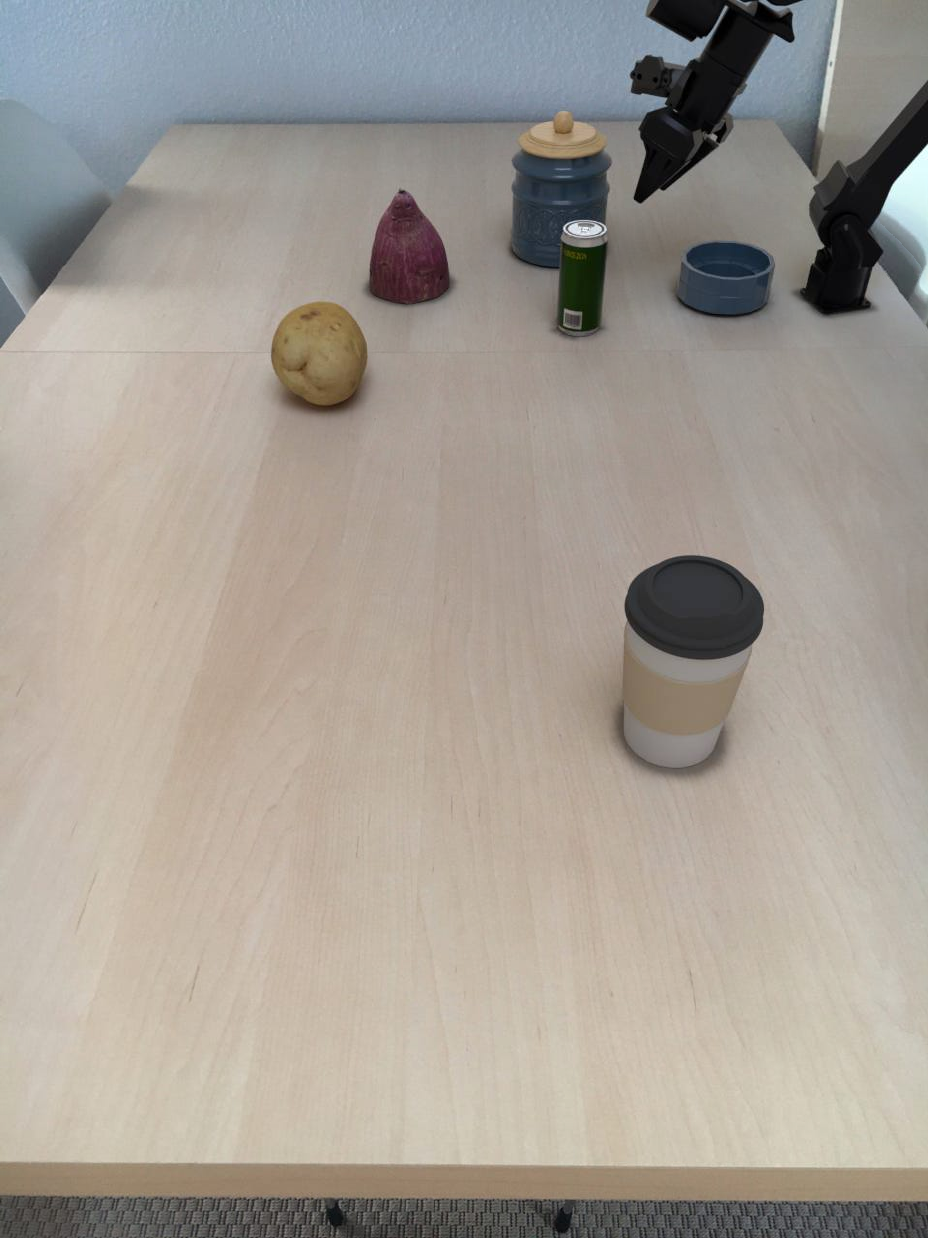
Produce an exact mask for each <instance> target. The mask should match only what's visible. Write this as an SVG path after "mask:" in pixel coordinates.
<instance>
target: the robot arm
mask: <svg viewBox="0 0 928 1238" xmlns="http://www.w3.org/2000/svg"><path fill="white" fill-rule="evenodd" d="M803 1H804V0H766V2H767V3H769V4H770V5H771V6H775V7H786V8H784V9H781V10H778V11H777V10H775V9H773V8H772V7H770V6H768V5H766V4H765V3H763V2H761V0H649V1H648V5H647V7H646V10H645V18H648V19H649V20H651V21H652V22H655V23H656V24H658V25H660V26H662V27H663V28H665V29H667V30H669V31H670V32H672V33H674V34H676V35H677V36H679V37H681V38H682V39H685V40H686V41H688V42H690V43H693V42H694V41H696V39H697V38H699V39H701V40H702V39H703V38H707V37H708V36H709V34H711V32H712V31H713V32H712V34H711V35H710V37H709V39H708V41H707V42H706V44H705V46H704V48H703V50H702V52H701V53H700V55H699V57H694V58H693V59H690V60H689V61H688V63H687V65H682V64H678V63H673V62H666V61H665V60H664V57H663V56H660V55H659V56H656V55H653V54H645V55H644V57H643V58H642V59H639V60H636V61H635V64H634V68H633V69H632V70H631V71H630V73H629V77H630V79H631V80H632V82H631V86H630V93H631V94H634V95H638V96H641V95H648V96H653V97H658V98H663V99H666V100H665V101H664V105H665V106H663V107H660V108H657V109H653V110H651V111H648V112H646V114H645V115H644V118H643V119H642V121H641V123H640V125H639V126H638V128H637V130H638V131H639V137H640V140H641V141H642V143H643V147H644V150H645V156H644V160H643V164H642V167H641V171H640V174H639V178H638V180H637V184H636V187H635V191H634V194H633V197H632V198H633V200H634V201H635V202H636V203H637V204H643V203H644V202H645V201H647V200H648V199H649V198H651V196H652V195H653V194H654V193H656V192H657V191H658V190H661V191H662V192H664V191H667V189H669V188H670V187H671V186H672V185H674V184H675V183H676V182H677V181H679V179H681V178H682V177H683V176H685V174H687V173H688V172H689V171H691V170H692V169H693V168H694V167H696V166H697V165H698V164H699V163H700V162H702V161H703V160H704V159H705V158H707V157H708V156H709V155H710V154H712V153H713V152H715V150H717V149H718V148H719V147H720V145H721V144H723V143H724V142H726V140H727V138H728V137H729V135H730V134H731V132H732V130H733V129H734V127H735V126H734V120H733V115H732V114H731V113H729V110H730V109H731V107H732V106H733V104H734V103H735V100H736V99H737V97H738V96H740V95H743V93H744V92H745V90H746V89H747V86H748V84H747V83H746V82H747V81H748V79H749V77H750V76H751V74H752V72H753V71H754V69H755V68H756V66H757V65H758V63H759V62H760V59H761V57H762V56H763V54H764V53H765V51H766V50H767V48H768V46H769V44H770V43H771V41H772V39H773V38H774V36H777V37H778V38H780V39H781V40H783V41H785V42H787V43H789V44H792V43H794V42H795V39H796V37H795V32H794V27H793V17H794V13H793V11H792V10H791V8H790V7H787V6H791V5H794V4H797V3H800V2H803ZM745 3H748V5H747V4H745ZM725 7H726V9H725ZM724 9H725V10H724ZM723 11H724V13H723ZM722 13H723V14H722ZM721 15H722V16H721ZM720 17H721V18H720ZM717 22H718V23H717ZM716 24H717V25H716ZM714 28H715V29H714ZM712 135H714V136H715V137H716V139H715V140H714V139H712ZM927 146H928V79H927V80H926V81H925V83H923V85H922V86H921V87H920V89H919V90H918V91H917V92H916V93H915V94H914V95H913V97H912V98H911V99H910V101H909V102H908V103H907V104H906V105H905V106H904V107H903V109H902V110H901V111H900V112H899V113H898V115H897V116H896V117H895V118H894V119H893V121H892V122H891V123H890V124H889V126H888V127H886V128H885V130H884V131H883V133H881V135H880V136H879V137H878V138H877V139H876V141H875V142H874V143H873V145H871V147H870V148H869V149H868V151H866V153H865V154H864V155H862V156H861V157H859V158H858V159H857V160H855V161H853V162H851V163H850V164H848V165H847V166H846V165H845V164H844V162H842V161H841V159H837V160H836V161H835V162H834V163H833V164H832V166H831V168H830V169H829V171H828V173H827V174H826V176H825V177H823V179H822V180H821V181H820V182H819V183H817V184H816V185H814V186H813V188H812V189H813V191H814V193H813V196H812V197H811V198H810V200H809V201H810V202H809V204H808V206H809V207H808V214H809V218H810V221H811V224H812V225H813V228H814V229H815V232H816V234H817V236H818V238H819V241H820V243H821V244H822V245H823V247H822V248H820V249H817V250H816V253H815V258H814V262H813V263H811V264H810V268H809V272H808V277H807V281H806V285H805V287H802V288H800V290H799V294H800V295H801V296H803V297H804V298H805V299H806V300H807V301H808V302H810V304H812V305H813V306H814V307H815V308H817V310H819V311H820V312H821V313H822V314H824V315H830V314H837V313H844V312H849V311H856V310H863V309H869V308H871V306H872V302H871V301H870V300H868V299H867V298H866V294H867V290H868V286H869V283H870V279H871V275H872V272H873V269H874V267H875V266H876V265H877V263H878V261H879V260H880V258H882V255H883V254H884V249H883V247H882V246H881V244H880V242H879V240H878V239H877V235H875V233H874V231H873V229H872V227H873V226H874V224H875V223H876V221H877V219H879V216H880V215H881V213H882V211H883V208H884V206H885V203H886V201H887V200H888V198H889V195H890V192H891V190H892V188H893V185H894V184H895V183H896V181H897V180H898V179H899V178H900V177H901V176H902V175H903V174H904V172H905V171H906V170H907V168H909V166H911V164H912V163H913V162H914V161H915V159H917V158H918V156H919V155H920V154H921V153H922V152H923V151H924V150H925V149H926V147H927Z"/></svg>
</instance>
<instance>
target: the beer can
mask: <svg viewBox="0 0 928 1238" xmlns="http://www.w3.org/2000/svg"><path fill="white" fill-rule="evenodd" d="M607 230H608V229H607V226H606V224H605V225H603V224H601V223H599V222H596V221H590V220H578V221H573V222H569V223H567V224H566V225H565V226H564V227H563V233H562V235H561V246H560V266H559V267H558V269H559V270H558V289H557V306H556V307H557V309H556V324H557V326H558V329H559V331H560V332H562V333H563V334H564V335H565V334H566V335H568V336H572V337H587V336H590V335H593V334H595V333H596V332H597V331H598V329H600V326H601V324H602V315H603V314H602V313H603V304H604V291H605V279H606V267H607V256H608V244H609V243H608V242H609V235H608V232H607Z"/></svg>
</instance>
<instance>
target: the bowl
mask: <svg viewBox="0 0 928 1238" xmlns="http://www.w3.org/2000/svg"><path fill="white" fill-rule="evenodd" d="M775 261H776V260H775V258H774V256H773V255H772V254H771V253H769V252H768V251H767V250H766V249H765V248H761V247H760V246H756V245H755V244H751V243H749V242H742V241H737V240H726V239H725V240H723V239H722V240H721V239H719V240H718V239H715V240H708V241H701V242H698V243H695V244H693V245H690V246H687V248H686V249H685V250H683V252H682V253H681V254H680V263H679V270H678V276H677V277H678V278H677V284H676V296H677V297H678V298H679V299H680V300H681V301H682V302H683V303H684V304H685V305H687V306H689V307H691V308H693V309H695V310H698V311H701V312H705V313H709V314H715V315H741V314H747V313H752V312H753V311H756V310H758V309H760V308H763V307H764V305H765V304H766V303H767V302H768V301H769V298H770V293H771V287H772V283H773V278H774V273H775V268H776V262H775Z"/></svg>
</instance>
